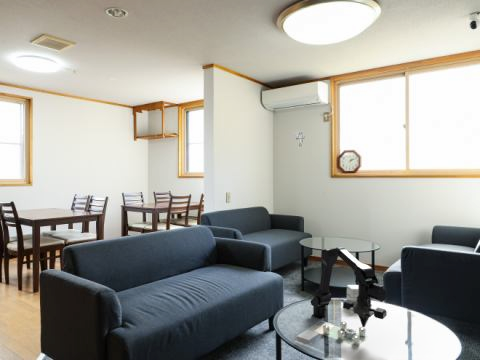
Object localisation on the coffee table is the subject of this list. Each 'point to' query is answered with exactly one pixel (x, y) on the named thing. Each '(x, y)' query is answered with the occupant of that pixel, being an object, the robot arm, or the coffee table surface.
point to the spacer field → (341, 333)
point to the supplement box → (352, 293)
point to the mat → (336, 333)
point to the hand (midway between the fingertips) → (363, 326)
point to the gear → (349, 333)
